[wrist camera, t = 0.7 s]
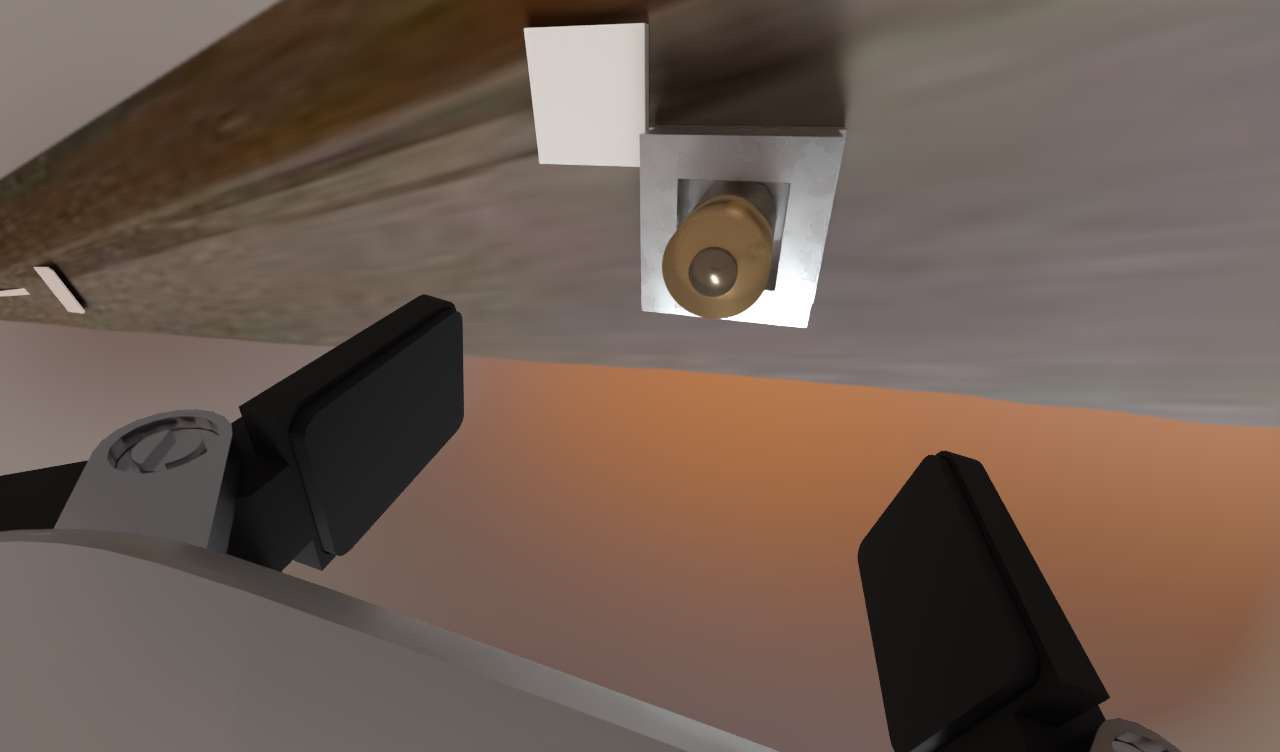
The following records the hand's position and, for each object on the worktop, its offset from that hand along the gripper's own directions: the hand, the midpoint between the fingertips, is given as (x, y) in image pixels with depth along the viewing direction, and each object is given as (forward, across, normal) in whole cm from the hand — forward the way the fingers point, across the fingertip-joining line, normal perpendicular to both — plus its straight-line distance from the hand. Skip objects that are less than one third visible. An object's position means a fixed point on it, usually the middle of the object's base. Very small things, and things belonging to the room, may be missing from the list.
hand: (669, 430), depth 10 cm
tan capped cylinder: (+26, 0, +2) cm, 26 cm away
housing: (+28, 0, +2) cm, 28 cm away
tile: (+28, +11, -3) cm, 31 cm away
